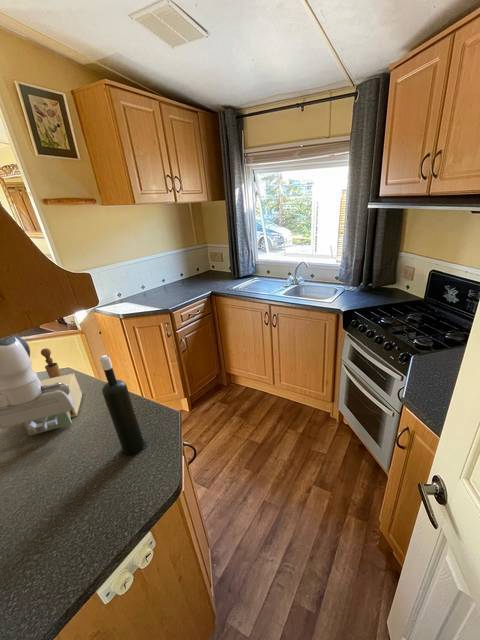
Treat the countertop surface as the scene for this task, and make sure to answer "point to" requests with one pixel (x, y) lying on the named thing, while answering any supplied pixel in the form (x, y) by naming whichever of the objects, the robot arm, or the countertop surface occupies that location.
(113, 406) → the wine bottle
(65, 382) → the cabinet
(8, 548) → the countertop surface
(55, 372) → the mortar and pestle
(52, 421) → the drawer
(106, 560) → the countertop surface
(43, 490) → the countertop surface
